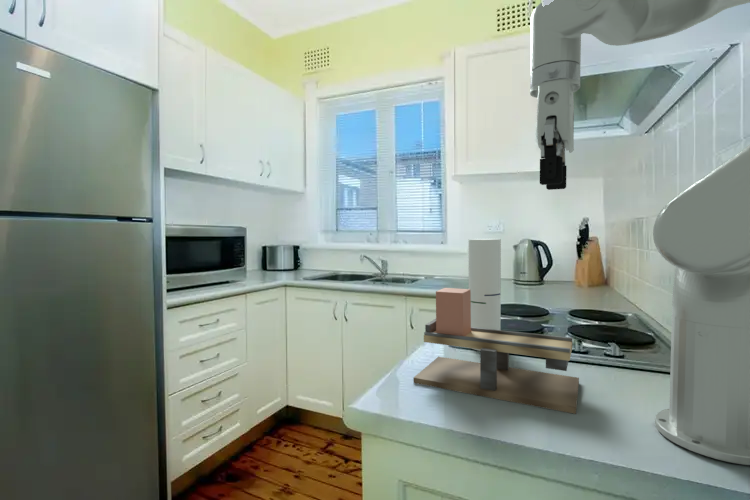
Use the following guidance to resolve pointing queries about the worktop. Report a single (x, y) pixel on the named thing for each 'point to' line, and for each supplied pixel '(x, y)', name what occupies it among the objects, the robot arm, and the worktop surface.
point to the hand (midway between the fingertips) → (553, 186)
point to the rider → (453, 311)
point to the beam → (509, 343)
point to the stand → (502, 381)
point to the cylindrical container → (485, 283)
